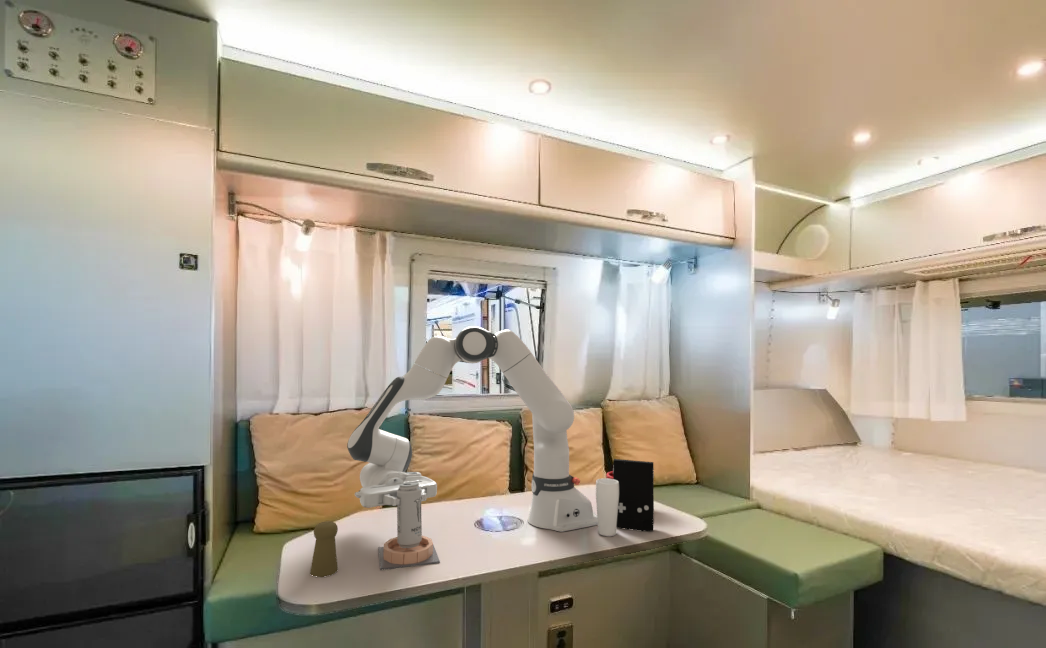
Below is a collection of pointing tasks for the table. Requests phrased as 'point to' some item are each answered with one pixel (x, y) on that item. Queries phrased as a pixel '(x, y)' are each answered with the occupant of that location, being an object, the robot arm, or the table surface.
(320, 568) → the cork
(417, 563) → the dish
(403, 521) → the energy drink can
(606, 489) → the drinking glass
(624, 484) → the handheld gaming console
